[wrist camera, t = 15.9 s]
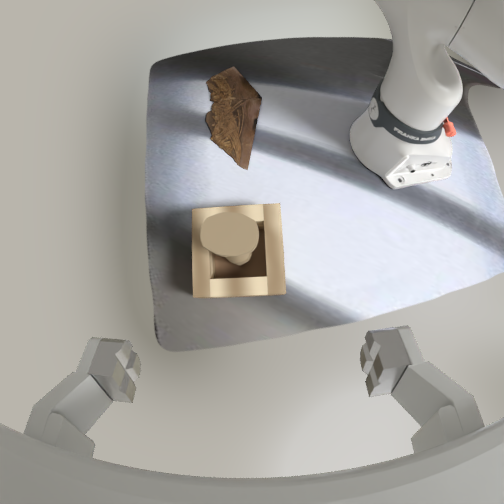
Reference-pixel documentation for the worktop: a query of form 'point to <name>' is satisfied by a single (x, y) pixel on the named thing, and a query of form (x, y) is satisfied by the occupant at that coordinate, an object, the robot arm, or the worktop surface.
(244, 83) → the wooden fragment
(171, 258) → the worktop surface
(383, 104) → the robot arm
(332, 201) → the worktop surface
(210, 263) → the socket block
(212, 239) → the handle
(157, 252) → the worktop surface
